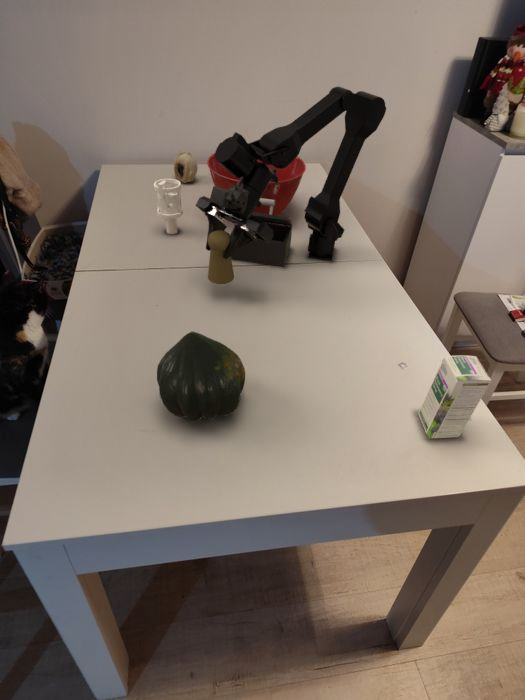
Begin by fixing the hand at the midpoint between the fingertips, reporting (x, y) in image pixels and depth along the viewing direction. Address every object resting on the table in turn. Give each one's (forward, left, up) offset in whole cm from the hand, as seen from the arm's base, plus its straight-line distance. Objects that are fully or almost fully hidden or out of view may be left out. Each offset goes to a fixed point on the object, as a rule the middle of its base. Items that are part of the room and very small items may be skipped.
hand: (215, 254), depth 97 cm
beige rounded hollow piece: (+30, -64, -7) cm, 71 cm away
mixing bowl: (+1, -46, -11) cm, 47 cm away
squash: (-7, +32, -11) cm, 35 cm away
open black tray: (-6, -22, -11) cm, 25 cm away
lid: (-6, -22, -1) cm, 23 cm away
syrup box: (-49, +27, -11) cm, 57 cm away
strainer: (+21, -27, -11) cm, 36 cm away
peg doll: (-1, -1, -7) cm, 7 cm away
